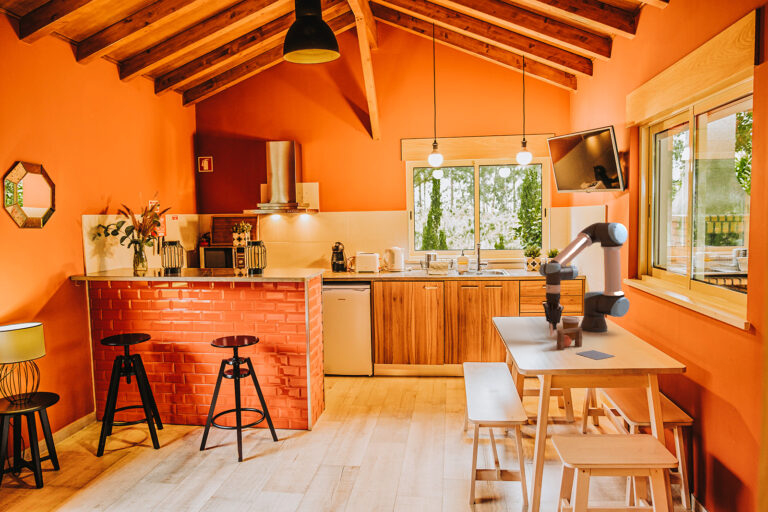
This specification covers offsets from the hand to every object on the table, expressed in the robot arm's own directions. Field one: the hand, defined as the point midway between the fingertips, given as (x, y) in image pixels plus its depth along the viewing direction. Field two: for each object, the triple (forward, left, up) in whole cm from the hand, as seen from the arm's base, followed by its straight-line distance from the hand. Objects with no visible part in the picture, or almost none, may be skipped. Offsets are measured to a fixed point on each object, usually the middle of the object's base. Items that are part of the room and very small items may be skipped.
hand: (552, 335), depth 279 cm
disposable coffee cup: (-15, -2, -4) cm, 16 cm away
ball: (0, +9, -1) cm, 9 cm away
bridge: (+1, +12, -4) cm, 13 cm away
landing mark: (+1, +28, -4) cm, 28 cm away
